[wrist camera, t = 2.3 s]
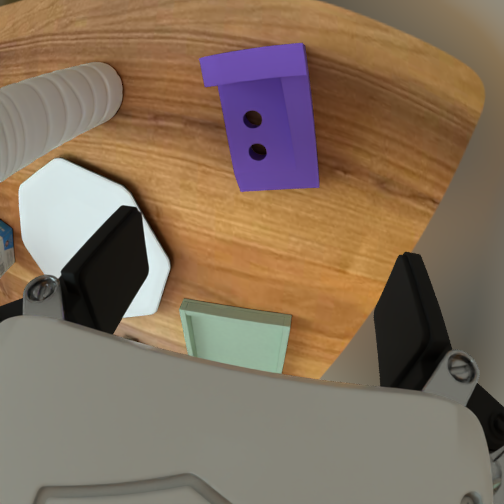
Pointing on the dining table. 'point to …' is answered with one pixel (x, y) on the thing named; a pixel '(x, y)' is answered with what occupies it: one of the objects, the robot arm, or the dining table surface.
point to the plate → (82, 223)
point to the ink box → (6, 248)
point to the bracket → (267, 115)
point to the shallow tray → (235, 335)
